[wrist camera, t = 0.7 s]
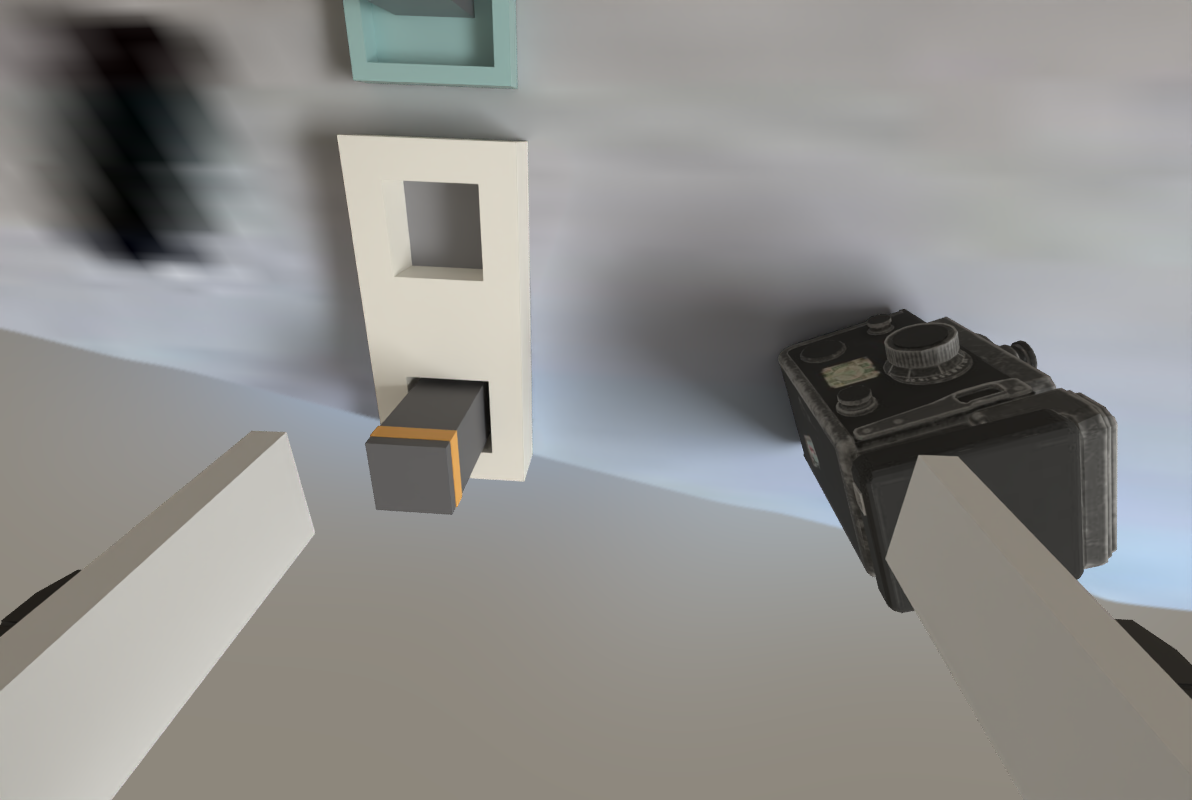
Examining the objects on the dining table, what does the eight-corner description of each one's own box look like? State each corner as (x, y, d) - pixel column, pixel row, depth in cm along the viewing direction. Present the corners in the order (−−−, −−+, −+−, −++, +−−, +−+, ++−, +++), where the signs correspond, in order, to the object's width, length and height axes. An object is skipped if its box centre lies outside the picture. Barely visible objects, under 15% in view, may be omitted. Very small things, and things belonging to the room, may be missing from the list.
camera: (965, 416, 36) (1166, 586, 23) (802, 462, 38) (897, 642, 25) (946, 266, 32) (1178, 363, 18) (765, 326, 34) (854, 453, 21)
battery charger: (366, 134, 31) (250, 135, 21) (527, 141, 30) (482, 145, 21) (406, 446, 39) (337, 544, 30) (532, 454, 39) (502, 555, 30)
